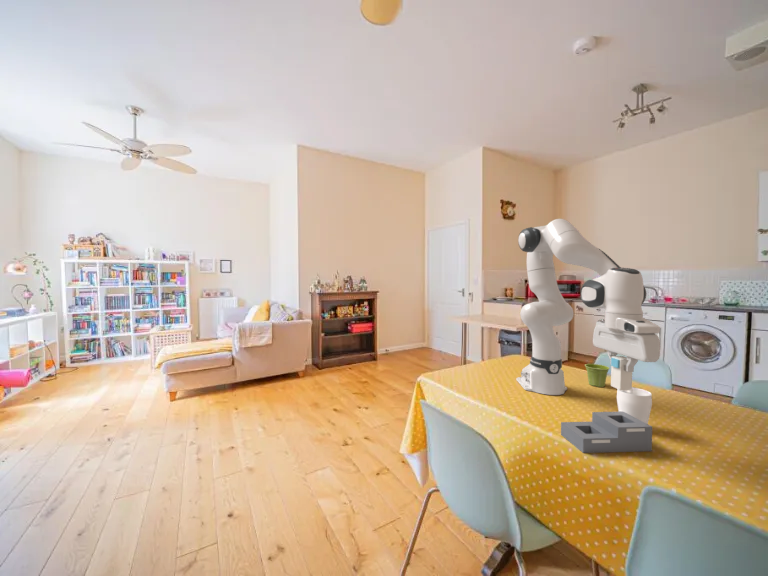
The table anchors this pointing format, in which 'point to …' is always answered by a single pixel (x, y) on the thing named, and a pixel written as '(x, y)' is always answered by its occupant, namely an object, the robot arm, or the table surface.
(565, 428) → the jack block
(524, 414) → the table surface
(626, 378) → the plug
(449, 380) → the table surface
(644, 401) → the cup
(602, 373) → the plant pot
